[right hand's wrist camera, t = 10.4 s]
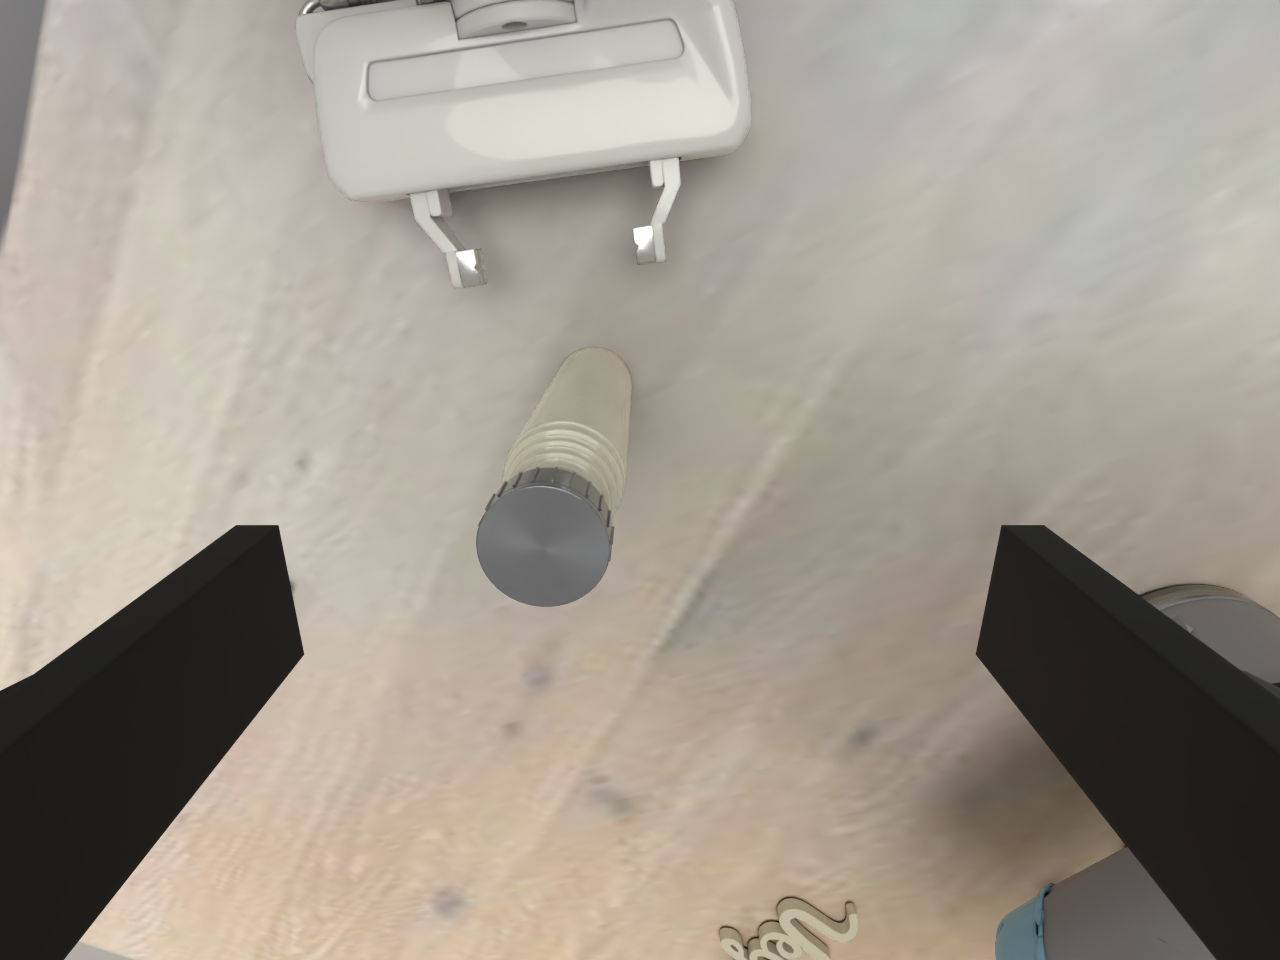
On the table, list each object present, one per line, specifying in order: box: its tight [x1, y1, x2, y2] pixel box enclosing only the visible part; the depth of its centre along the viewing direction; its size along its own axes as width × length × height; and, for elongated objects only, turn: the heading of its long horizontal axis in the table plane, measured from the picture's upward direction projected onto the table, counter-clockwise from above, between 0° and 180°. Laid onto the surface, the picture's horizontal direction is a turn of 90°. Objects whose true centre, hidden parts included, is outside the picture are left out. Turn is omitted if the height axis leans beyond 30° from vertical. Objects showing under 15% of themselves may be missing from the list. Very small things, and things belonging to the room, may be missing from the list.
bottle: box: [502, 347, 632, 519], centre depth 33 cm, size 5×5×23 cm
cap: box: [476, 467, 614, 607], centre depth 22 cm, size 4×4×2 cm
